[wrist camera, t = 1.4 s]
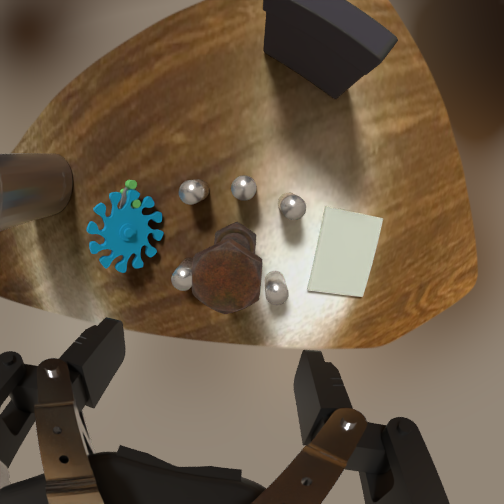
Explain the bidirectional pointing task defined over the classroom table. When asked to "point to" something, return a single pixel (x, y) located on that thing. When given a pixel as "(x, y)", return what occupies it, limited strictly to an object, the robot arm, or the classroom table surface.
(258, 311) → the classroom table surface
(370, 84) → the classroom table surface
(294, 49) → the dark grey slab
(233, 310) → the bolt
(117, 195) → the gear
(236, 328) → the classroom table surface
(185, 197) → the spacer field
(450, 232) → the classroom table surface
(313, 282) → the plate
